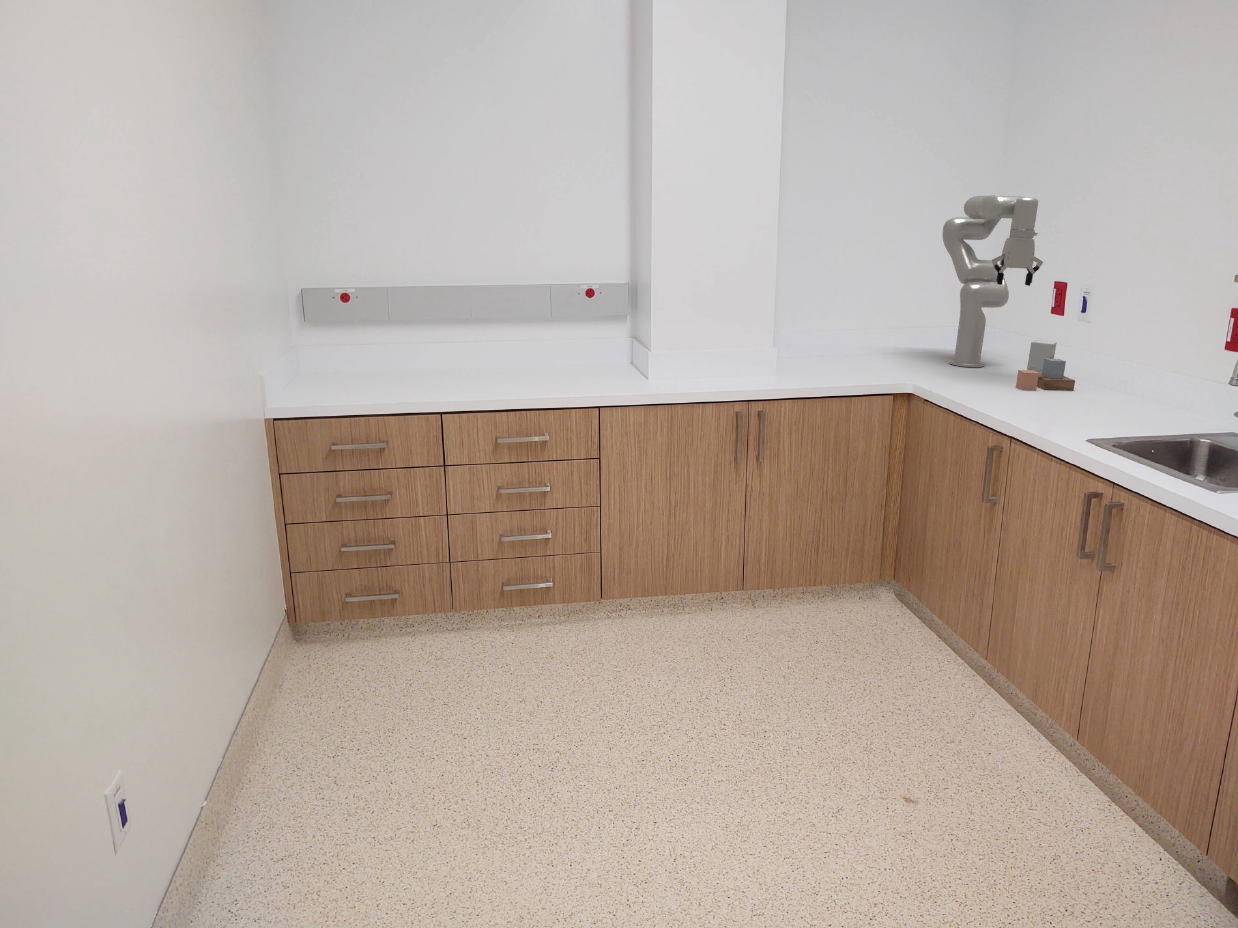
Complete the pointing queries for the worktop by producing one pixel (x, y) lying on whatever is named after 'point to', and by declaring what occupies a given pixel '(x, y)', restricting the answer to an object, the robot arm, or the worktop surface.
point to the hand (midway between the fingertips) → (1013, 284)
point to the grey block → (1053, 368)
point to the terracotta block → (1027, 380)
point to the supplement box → (1040, 354)
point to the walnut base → (1055, 383)
